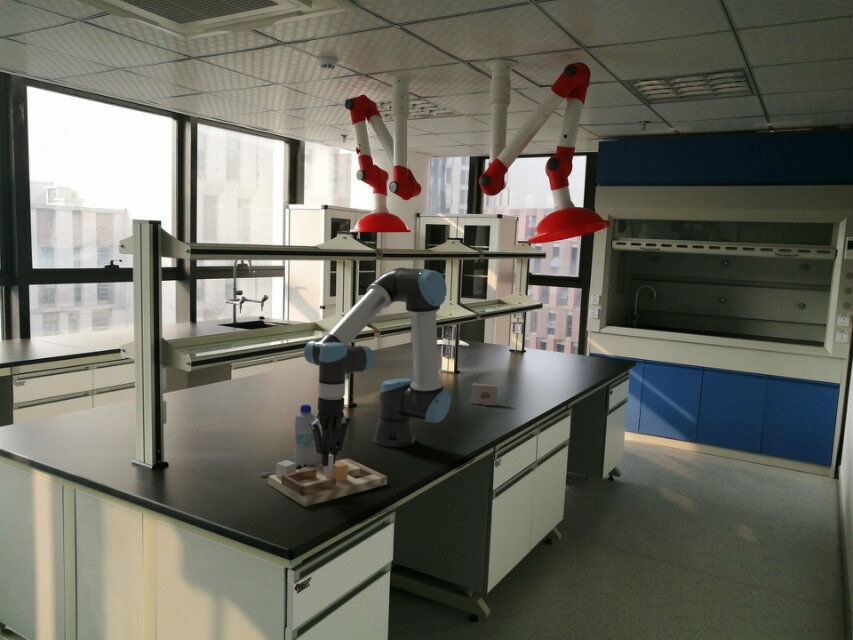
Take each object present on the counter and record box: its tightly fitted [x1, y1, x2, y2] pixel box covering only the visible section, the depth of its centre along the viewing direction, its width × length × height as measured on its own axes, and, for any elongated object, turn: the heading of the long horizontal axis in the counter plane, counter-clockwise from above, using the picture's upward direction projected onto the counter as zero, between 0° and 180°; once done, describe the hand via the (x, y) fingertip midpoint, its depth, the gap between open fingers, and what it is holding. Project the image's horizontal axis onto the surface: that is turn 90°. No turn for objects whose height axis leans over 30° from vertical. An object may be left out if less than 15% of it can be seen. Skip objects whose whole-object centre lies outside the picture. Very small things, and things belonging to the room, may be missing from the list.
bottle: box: [293, 404, 316, 469], centre depth 206 cm, size 7×7×20 cm
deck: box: [267, 457, 388, 507], centre depth 192 cm, size 28×20×3 cm
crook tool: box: [260, 470, 276, 478], centre depth 197 cm, size 10×4×1 cm, turn 119°
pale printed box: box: [470, 382, 498, 406], centre depth 301 cm, size 12×4×10 cm, turn 81°
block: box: [275, 459, 297, 478], centre depth 190 cm, size 4×4×4 cm
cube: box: [326, 460, 348, 482], centre depth 190 cm, size 4×4×4 cm
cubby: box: [282, 468, 336, 496], centre depth 184 cm, size 11×11×2 cm
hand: (328, 475), depth 188 cm, fingers closed
